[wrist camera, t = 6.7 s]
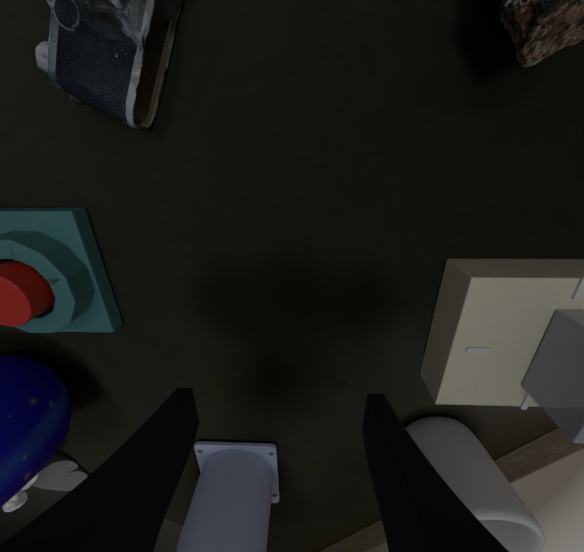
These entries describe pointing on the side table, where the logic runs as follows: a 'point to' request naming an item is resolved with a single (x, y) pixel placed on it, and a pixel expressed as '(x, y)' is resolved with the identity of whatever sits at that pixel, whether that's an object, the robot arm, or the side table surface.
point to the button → (22, 293)
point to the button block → (61, 267)
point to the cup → (477, 482)
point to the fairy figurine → (49, 482)
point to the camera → (111, 54)
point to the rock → (542, 26)
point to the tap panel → (495, 326)
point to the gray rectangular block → (561, 373)
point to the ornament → (29, 420)
